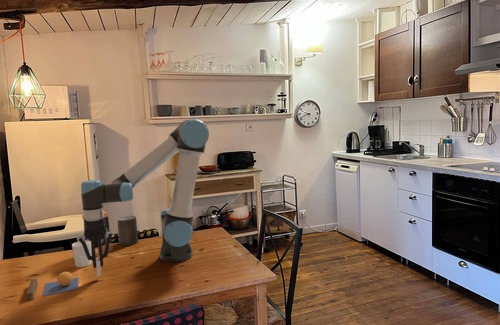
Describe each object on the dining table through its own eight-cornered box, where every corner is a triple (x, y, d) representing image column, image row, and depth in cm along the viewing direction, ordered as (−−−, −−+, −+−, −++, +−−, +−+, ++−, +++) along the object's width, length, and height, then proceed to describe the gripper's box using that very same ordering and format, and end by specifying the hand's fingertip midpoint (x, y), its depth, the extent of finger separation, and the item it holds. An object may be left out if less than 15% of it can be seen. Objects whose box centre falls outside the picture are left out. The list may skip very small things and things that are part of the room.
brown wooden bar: (37, 284, 148) (36, 278, 148) (33, 299, 135) (32, 292, 135) (31, 285, 147) (31, 279, 147) (27, 300, 135) (26, 294, 134)
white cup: (85, 268, 163) (83, 246, 162) (70, 267, 165) (68, 246, 163) (96, 261, 171) (94, 240, 170) (81, 260, 172) (79, 240, 171)
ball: (66, 285, 149) (75, 274, 150) (66, 291, 144) (75, 279, 145) (54, 278, 147) (63, 267, 148) (53, 284, 142) (63, 272, 143)
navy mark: (78, 277, 153) (78, 277, 153) (78, 289, 142) (77, 288, 142) (45, 283, 148) (45, 283, 148) (42, 296, 138) (42, 295, 137)
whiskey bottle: (114, 250, 185) (108, 187, 181) (97, 257, 176) (90, 191, 173) (100, 247, 190) (95, 186, 186) (83, 253, 182) (77, 190, 178)
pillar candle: (141, 242, 196) (139, 214, 194) (124, 247, 189) (122, 218, 187) (132, 238, 202) (130, 212, 201) (115, 243, 195) (113, 216, 194)
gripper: (110, 214, 154) (115, 268, 157) (76, 218, 149) (81, 274, 152) (111, 218, 147) (116, 274, 150) (76, 223, 142) (81, 281, 145)
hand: (99, 274), depth 151 cm, fingers closed
